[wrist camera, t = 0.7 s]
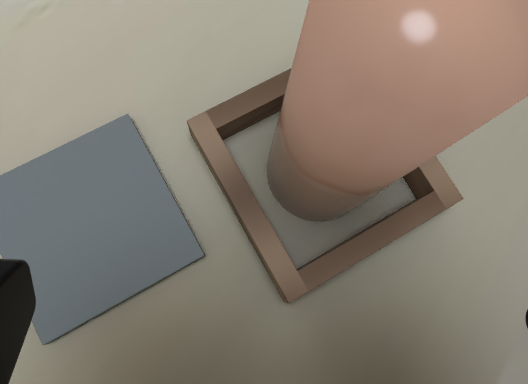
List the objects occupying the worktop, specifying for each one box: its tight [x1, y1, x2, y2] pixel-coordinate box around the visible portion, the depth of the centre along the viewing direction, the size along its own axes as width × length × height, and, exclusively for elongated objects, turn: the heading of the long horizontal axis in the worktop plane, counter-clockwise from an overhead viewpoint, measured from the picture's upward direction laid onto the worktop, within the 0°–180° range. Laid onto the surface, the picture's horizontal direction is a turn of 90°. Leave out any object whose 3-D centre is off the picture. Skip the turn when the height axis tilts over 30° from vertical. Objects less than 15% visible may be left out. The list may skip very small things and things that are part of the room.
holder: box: [187, 68, 463, 303], centre depth 21 cm, size 10×10×2 cm
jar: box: [267, 0, 528, 221], centre depth 16 cm, size 5×5×14 cm
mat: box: [0, 114, 205, 345], centre depth 21 cm, size 8×8×1 cm
